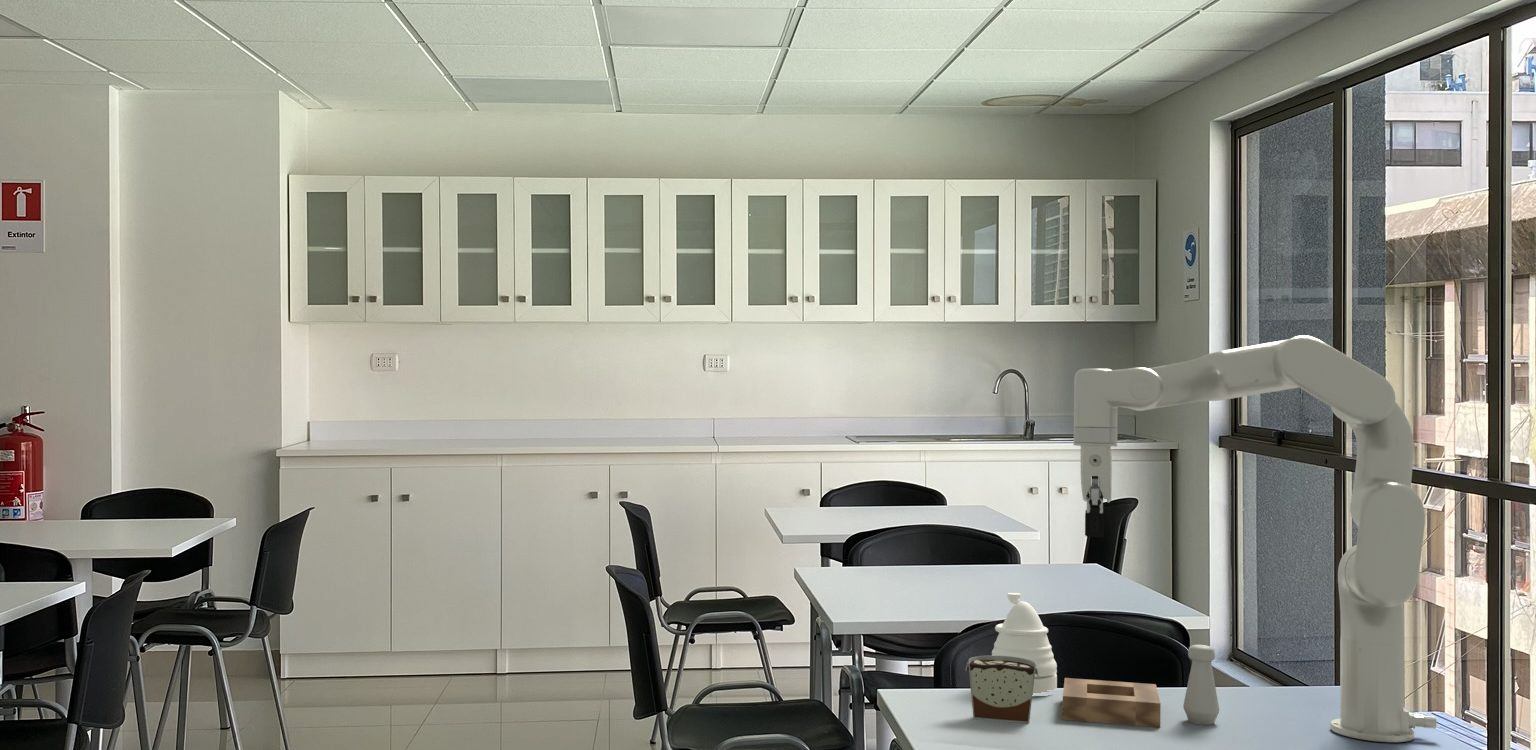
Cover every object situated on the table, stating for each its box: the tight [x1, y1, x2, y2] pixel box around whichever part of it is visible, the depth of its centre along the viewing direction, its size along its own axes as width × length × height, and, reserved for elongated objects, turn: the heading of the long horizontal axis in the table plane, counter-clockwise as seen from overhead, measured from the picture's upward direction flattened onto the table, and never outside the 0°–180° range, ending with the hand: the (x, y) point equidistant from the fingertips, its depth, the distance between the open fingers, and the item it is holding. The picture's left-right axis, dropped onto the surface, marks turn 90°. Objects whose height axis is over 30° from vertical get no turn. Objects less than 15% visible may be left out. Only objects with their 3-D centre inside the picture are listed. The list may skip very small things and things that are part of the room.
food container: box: [965, 655, 1039, 724], centre depth 211 cm, size 12×6×10 cm, turn 74°
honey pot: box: [991, 592, 1058, 693], centre depth 233 cm, size 13×13×18 cm
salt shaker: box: [1182, 644, 1220, 726], centre depth 210 cm, size 6×6×13 cm
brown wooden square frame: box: [1062, 677, 1162, 728], centre depth 215 cm, size 16×16×4 cm
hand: (1094, 534), depth 217 cm, fingers open, 9 cm apart
